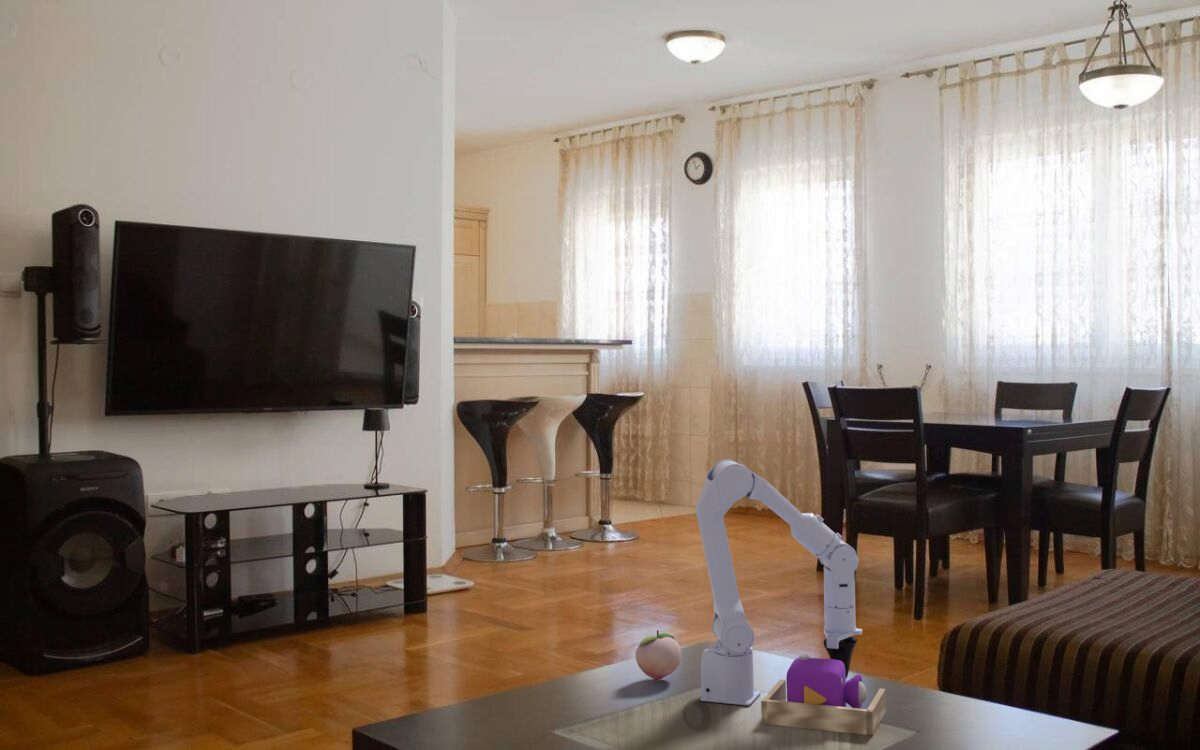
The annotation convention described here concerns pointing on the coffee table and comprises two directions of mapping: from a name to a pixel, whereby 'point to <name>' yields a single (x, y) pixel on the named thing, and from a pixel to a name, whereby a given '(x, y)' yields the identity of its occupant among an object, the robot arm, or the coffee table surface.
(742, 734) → the coffee table surface
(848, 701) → the toy camera
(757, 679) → the coffee table surface
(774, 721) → the wooden tray
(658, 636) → the decorative fruit
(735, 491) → the robot arm
